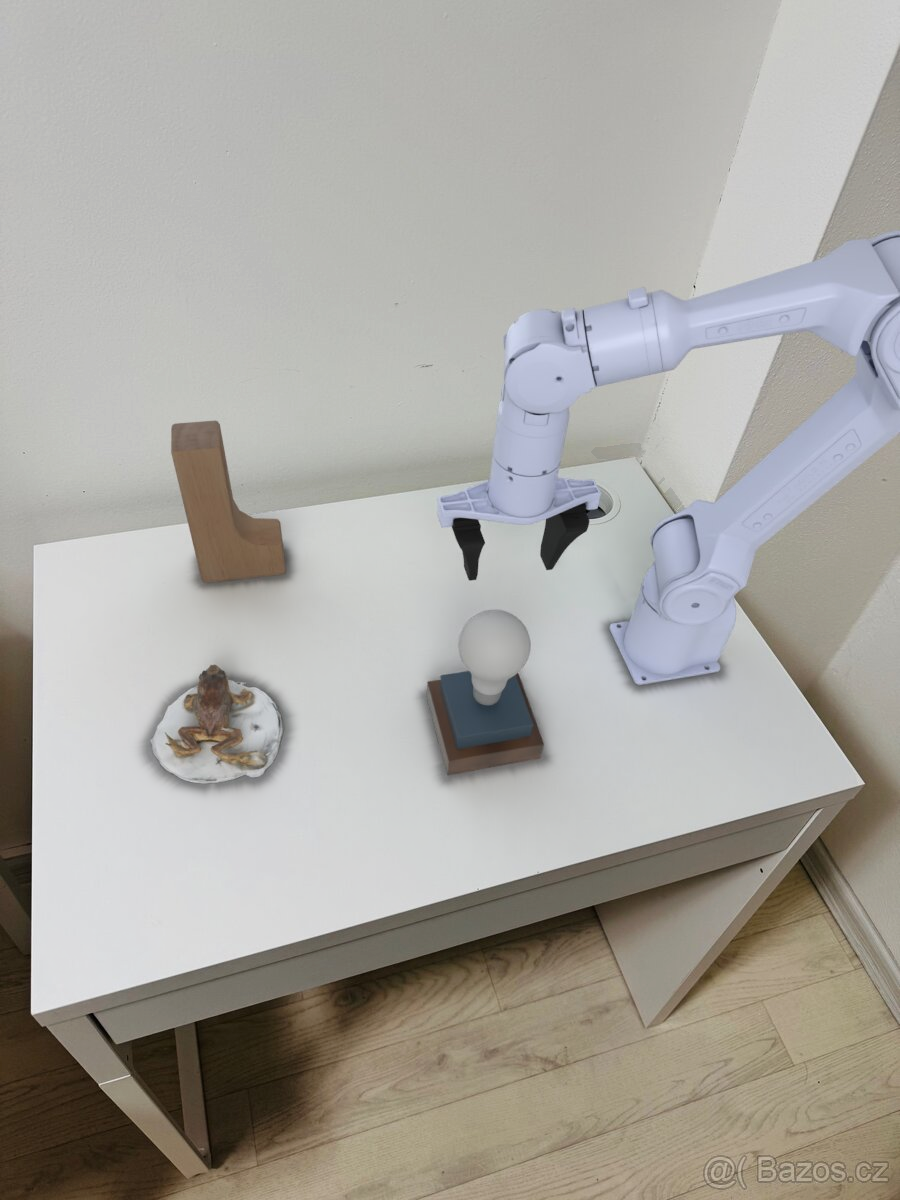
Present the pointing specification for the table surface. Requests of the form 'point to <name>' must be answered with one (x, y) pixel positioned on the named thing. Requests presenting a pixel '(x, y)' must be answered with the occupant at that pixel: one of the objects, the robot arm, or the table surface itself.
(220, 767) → the frog figurine
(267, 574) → the wooden block
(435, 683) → the base block
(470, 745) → the top block
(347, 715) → the table surface
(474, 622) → the lightbulb
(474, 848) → the table surface
